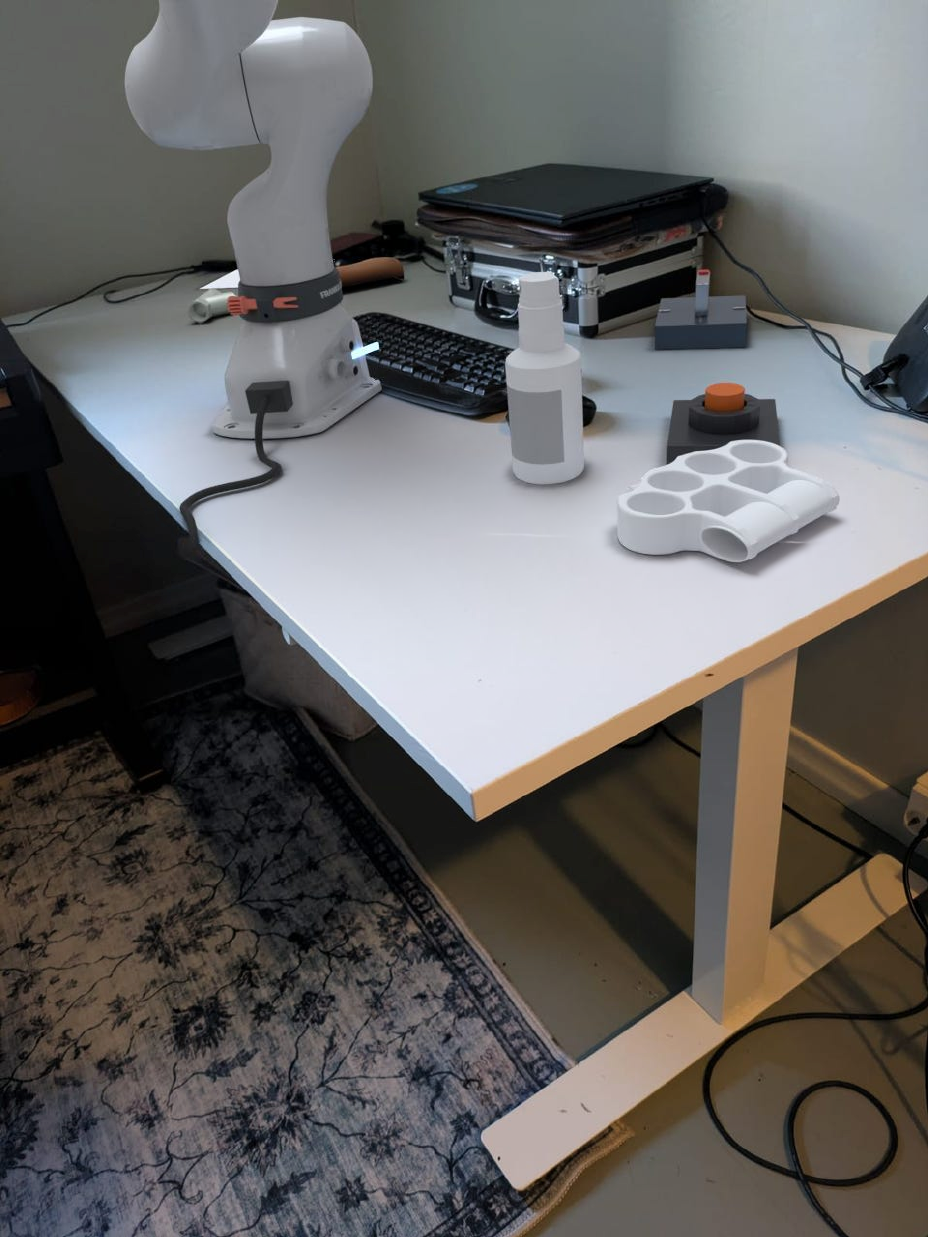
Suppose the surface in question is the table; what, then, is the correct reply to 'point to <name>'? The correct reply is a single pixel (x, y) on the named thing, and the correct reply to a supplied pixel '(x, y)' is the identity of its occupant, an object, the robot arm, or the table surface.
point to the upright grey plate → (702, 293)
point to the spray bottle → (544, 388)
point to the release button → (724, 397)
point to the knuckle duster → (721, 502)
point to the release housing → (719, 425)
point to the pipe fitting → (209, 305)
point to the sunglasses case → (370, 271)
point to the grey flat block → (701, 324)
